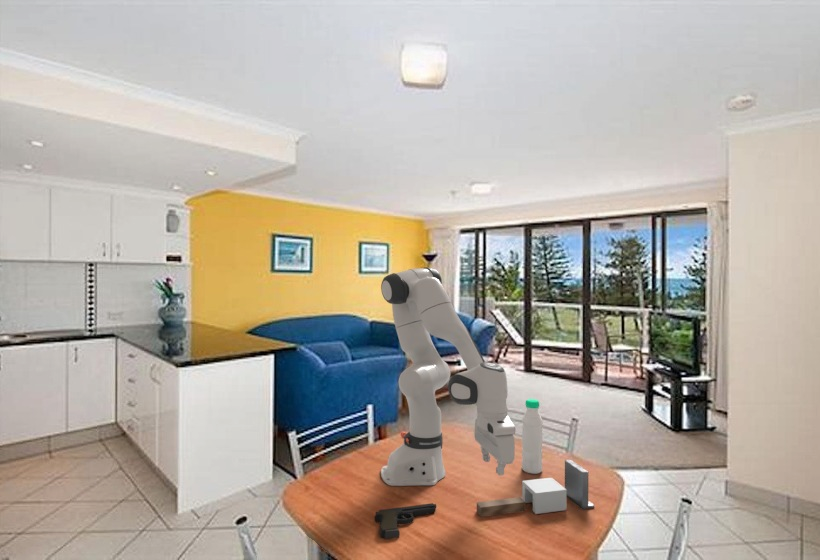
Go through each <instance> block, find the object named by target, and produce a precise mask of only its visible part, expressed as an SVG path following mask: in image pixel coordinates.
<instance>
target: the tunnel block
mask: <svg viewBox="0 0 820 560" xmlns="http://www.w3.org/2000/svg"><path fill="white" fill-rule="evenodd" d="M521 487H522V488H521V490H522V491H521V493H522V494H521V498H522V499H523V500H524V501H525V504H528V503H532V512H533V513H534V514H535V515H538V514H547V513H553V512H561V511H566V510H567V496H566V494H567V490H566V489H565V486H563V485H561V484H560V483H559V482H558V481H556V480H555V479H554V478H553V477H544V478H543V477H542V478H536V479H535V478H534V479H527V480H522V485H521Z"/></svg>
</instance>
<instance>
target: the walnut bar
mask: <svg viewBox="0 0 820 560" xmlns="http://www.w3.org/2000/svg"><path fill="white" fill-rule="evenodd" d="M521 512H526V503H525V501H524V500H523V499H522V496H518V497H509V498H501V499H492V500H485V501H477V502H476V513H477V514H478V515H479V517H480V518H483V517H492V516H499V515H507V514H513V513H521Z"/></svg>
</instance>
